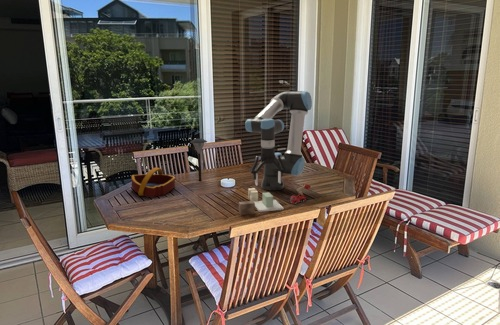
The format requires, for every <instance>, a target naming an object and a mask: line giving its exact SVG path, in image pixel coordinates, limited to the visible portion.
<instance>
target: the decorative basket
mask: <svg viewBox="0 0 500 325" xmlns="http://www.w3.org/2000/svg"><path fill="white" fill-rule="evenodd" d="M155 173H158V174H155ZM175 186H176V177H175V176H174V175H171V174H164V172H163V169H162V168H160V167H152V169H151V170H149V171H148V172H146V174H145V173H144V174H132V175H131V188H132V189H133V191H134V192H135V193H137V194H138V196H139V197H141V196H142V197H146V198H147V197H148V198H156V197H159V196H164V195H166V194H167V193H169V192H171V191H172V190H174V189H175Z"/></svg>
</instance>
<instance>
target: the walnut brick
mask: <svg viewBox="0 0 500 325" xmlns="http://www.w3.org/2000/svg"><path fill="white" fill-rule="evenodd" d="M255 209H256V207H255V203H254V202H253V201H250V200H247V201H246V200H245V201H239V202H238V213H239V215H240V216H242V215H244V216H245V215H253V214H255V213H256V210H255Z"/></svg>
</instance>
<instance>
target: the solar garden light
mask: <svg viewBox="0 0 500 325" xmlns="http://www.w3.org/2000/svg"><path fill="white" fill-rule="evenodd" d="M207 142H208V141H207V140H206V139H204V138H194V139H193V140H191V141H190V142H189V143H191V144H193V147H194V149H195V150H196V152H197V164H198V165H197V166H198V181H199V182H202V162H201V161H202V160H201V153H202V150H203V148H204V145H205V143H207Z"/></svg>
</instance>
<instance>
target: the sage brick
mask: <svg viewBox="0 0 500 325" xmlns="http://www.w3.org/2000/svg"><path fill="white" fill-rule="evenodd" d="M261 197H262V200H261V201H262V203H263V204H264V205H265V206H266V207H273V200H274V195H273V194H271V193H270V192H268V191H267V192H262V196H261Z"/></svg>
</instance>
